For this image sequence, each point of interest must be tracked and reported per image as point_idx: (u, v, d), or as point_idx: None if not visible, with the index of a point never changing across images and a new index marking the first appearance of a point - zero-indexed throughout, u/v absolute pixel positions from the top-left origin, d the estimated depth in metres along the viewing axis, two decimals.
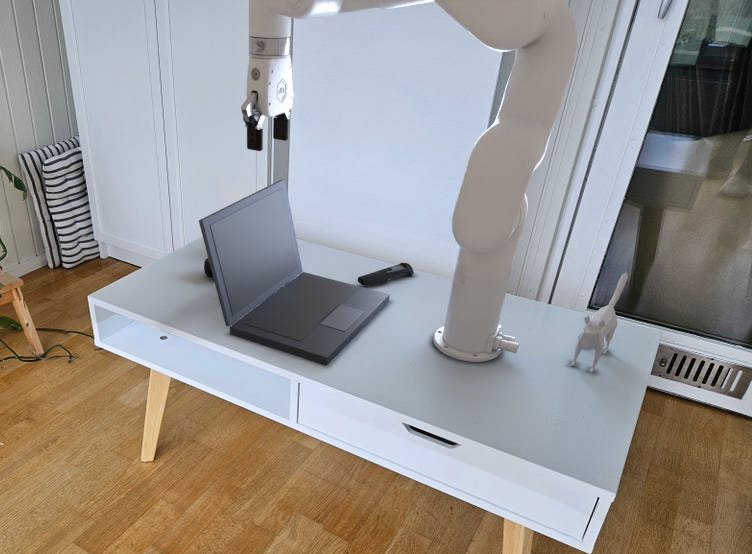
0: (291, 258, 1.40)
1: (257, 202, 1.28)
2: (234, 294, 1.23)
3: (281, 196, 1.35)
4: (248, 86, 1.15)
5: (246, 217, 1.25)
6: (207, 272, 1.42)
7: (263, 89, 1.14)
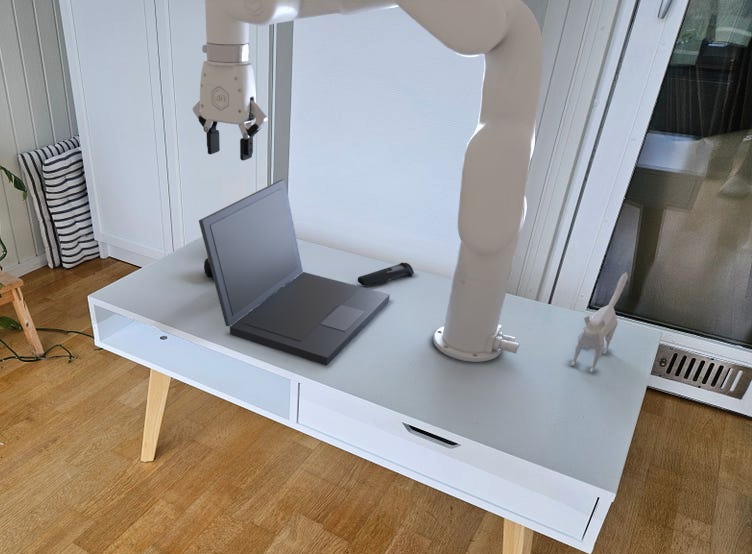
0: (291, 258, 1.40)
1: (257, 202, 1.28)
2: (234, 294, 1.23)
3: (281, 196, 1.35)
4: None
5: (246, 217, 1.25)
6: (207, 272, 1.42)
7: None
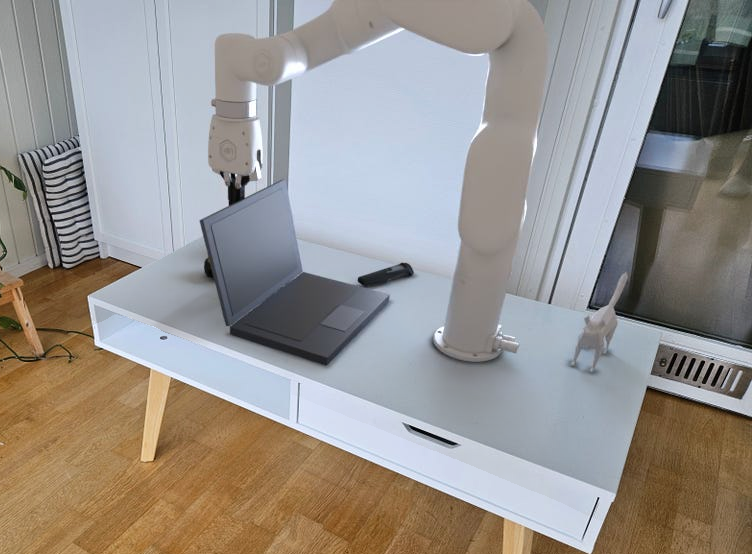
0: (291, 258, 1.40)
1: (257, 202, 1.28)
2: (234, 294, 1.23)
3: (282, 196, 1.35)
4: None
5: (246, 217, 1.25)
6: (207, 272, 1.42)
7: None
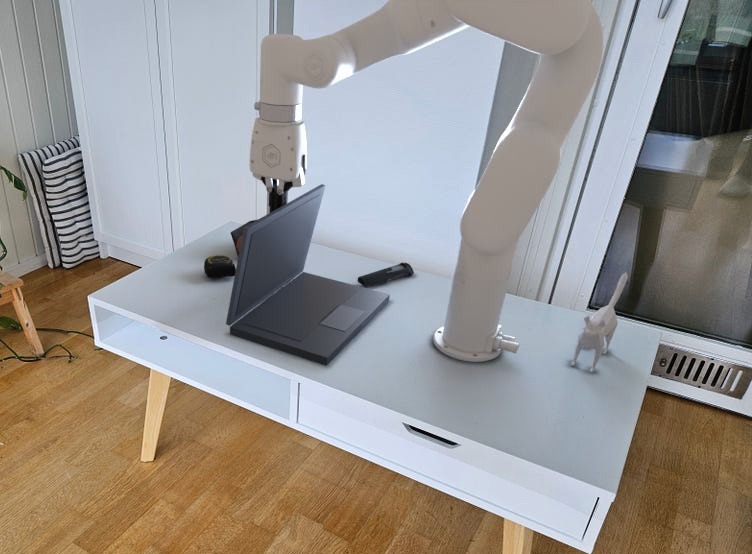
0: (300, 260, 1.39)
1: (295, 209, 1.24)
2: (244, 297, 1.22)
3: (316, 202, 1.32)
4: None
5: (282, 224, 1.21)
6: (207, 272, 1.42)
7: None
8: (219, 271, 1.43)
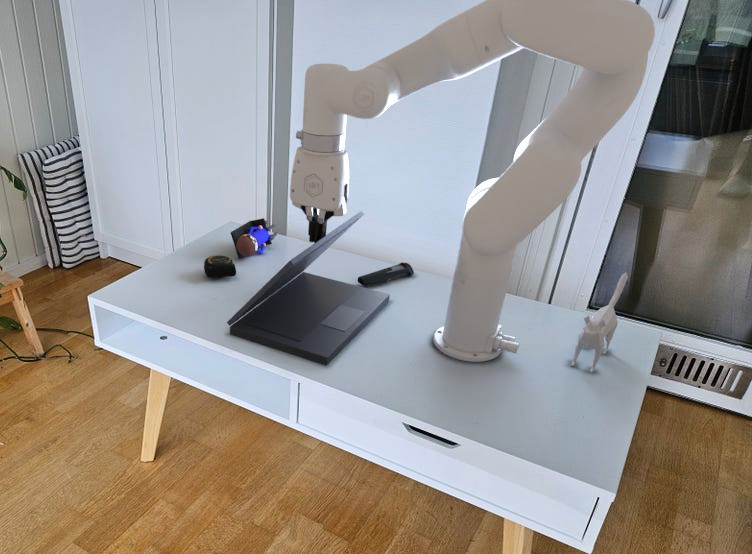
0: (307, 266, 1.39)
1: (333, 238, 1.22)
2: (254, 305, 1.22)
3: (349, 227, 1.30)
4: None
5: (316, 251, 1.20)
6: (207, 272, 1.42)
7: None
8: (219, 271, 1.43)
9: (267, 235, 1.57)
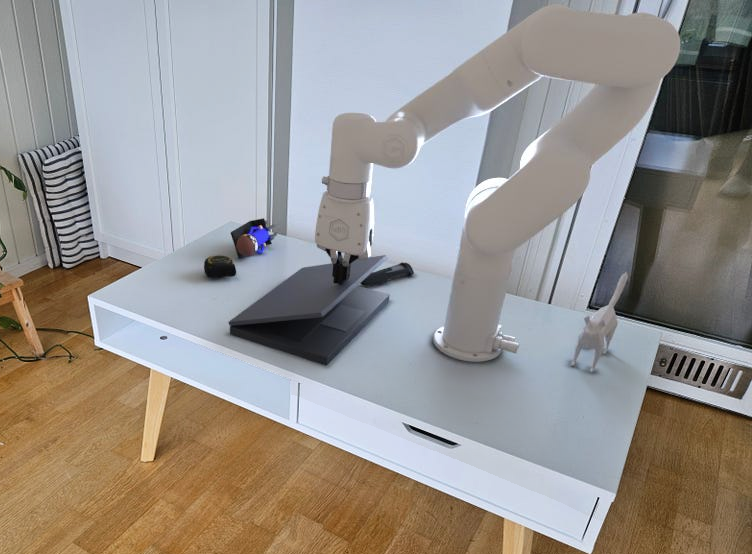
0: None
1: None
2: None
3: None
4: None
5: None
6: (207, 272, 1.42)
7: None
8: (219, 271, 1.43)
9: (267, 235, 1.57)
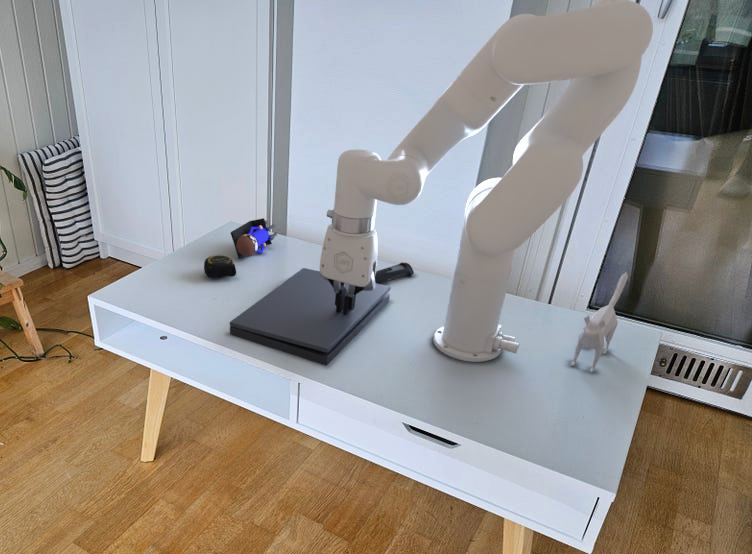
0: None
1: None
2: None
3: None
4: None
5: None
6: (207, 272, 1.42)
7: None
8: (219, 271, 1.43)
9: (267, 235, 1.57)
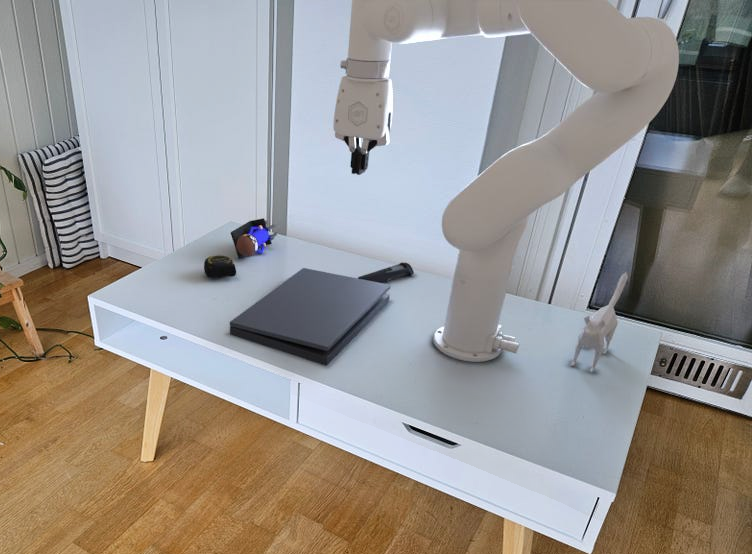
0: None
1: None
2: None
3: None
4: None
5: None
6: (207, 272, 1.42)
7: None
8: (219, 271, 1.43)
9: (267, 235, 1.57)
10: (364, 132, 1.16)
